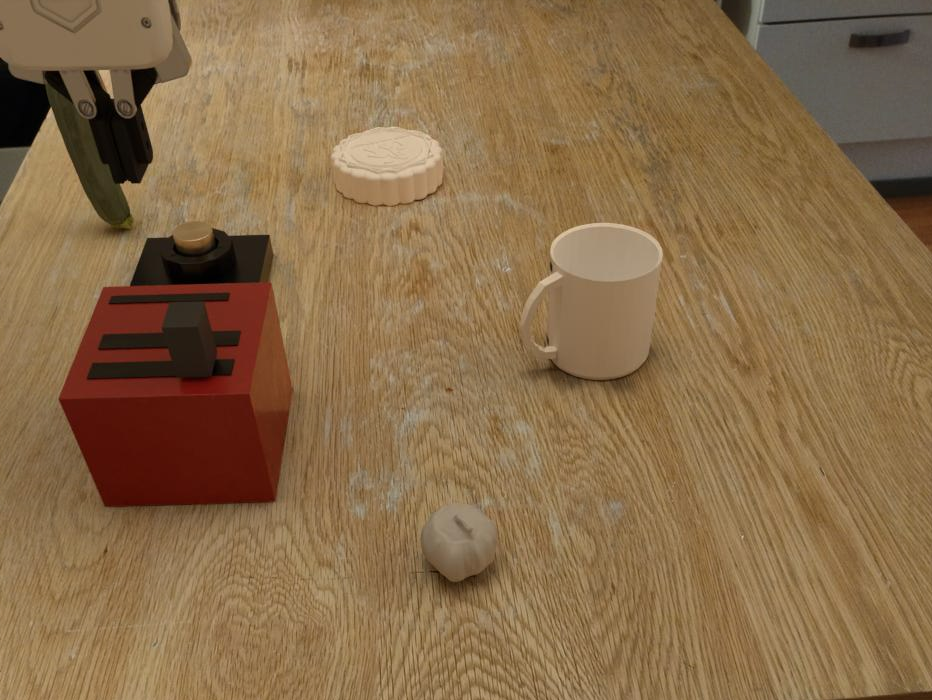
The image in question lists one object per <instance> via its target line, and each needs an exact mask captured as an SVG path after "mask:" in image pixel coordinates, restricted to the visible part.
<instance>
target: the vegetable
mask: <svg viewBox="0 0 932 700" xmlns="http://www.w3.org/2000/svg"><path fill="white" fill-rule="evenodd" d="M44 85H45V90H46V95H47V98H48V99H47V100H48V102H49V106H50V108H51V112H52V113H53V117H54V119H55V122H56V126H57V128H58V130H59V133H60V135H61V138H62V140H63V143H64V146H65V148H66V152H67V154H68V155H69V158H70V161H71V162H72V165H73V168H74V170H75V172H76V174H77V175H76V176H77V177H78V179H79V183H80V184H81V187H82V189H83V191H84V193H85V195H86V197H87V199H88V200H89V202H90V204H91V206H92V207H93V210H94V211H95V212H96V214H97V215H98V217H99V218H100V219H101V220H102V221H103V222H105V223H107V224H108V225H111V226H113V227H114V228H117V229H118V230H120V229H126V230H131V229H132V227H131V226H132V225H133V224H134V222H135V221H134V217H133V214H132V213H131V207H130V206H129V202H128V199H127V197H126V194H125V192H124V191H123V188H122V186H121V184H115V183H114V181H113V178H112V175H111V172H110V168H109V165H108V164H103V163H102V162H101V159H100V156H99V153H98V150H97V146H96V143H95V140H94V137H93V134H92V130H91V127H90V124H89V121H88V119H86V118H84V117H82V116H81V115H80V114H79V113H78V111H77V109H76V107H75V105H74V104H73V103H71V102H70V101H69V100H68V99H66V98H65V97H64V96H62V95H61V94H60V93H59V92H57V91H56V90H55V89H54V88H52V87H51V86H50V85H49V84H44Z"/></svg>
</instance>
